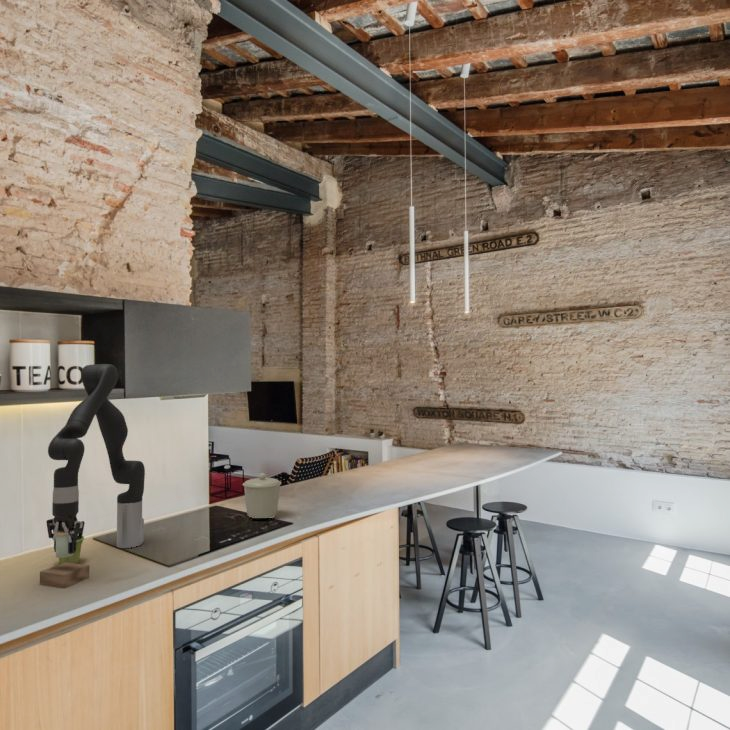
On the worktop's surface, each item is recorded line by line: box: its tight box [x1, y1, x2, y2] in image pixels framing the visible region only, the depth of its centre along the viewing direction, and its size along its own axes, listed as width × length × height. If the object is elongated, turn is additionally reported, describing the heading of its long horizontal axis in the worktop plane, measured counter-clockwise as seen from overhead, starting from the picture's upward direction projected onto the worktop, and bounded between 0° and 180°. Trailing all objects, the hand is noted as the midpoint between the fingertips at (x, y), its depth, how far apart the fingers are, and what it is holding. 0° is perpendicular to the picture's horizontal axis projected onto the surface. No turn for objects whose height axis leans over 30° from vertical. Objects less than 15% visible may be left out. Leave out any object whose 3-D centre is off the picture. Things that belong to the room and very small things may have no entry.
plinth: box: [39, 562, 90, 589], centre depth 178 cm, size 10×10×4 cm
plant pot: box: [58, 535, 85, 565], centre depth 196 cm, size 9×9×9 cm
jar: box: [55, 530, 74, 559], centre depth 179 cm, size 5×5×8 cm
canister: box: [242, 472, 282, 518], centre depth 259 cm, size 18×18×21 cm
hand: (64, 552), depth 178 cm, fingers closed on jar, 5 cm apart
